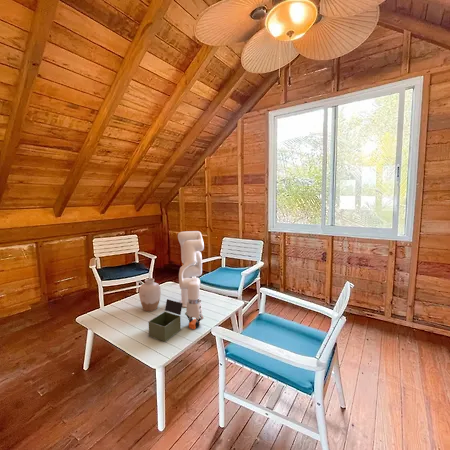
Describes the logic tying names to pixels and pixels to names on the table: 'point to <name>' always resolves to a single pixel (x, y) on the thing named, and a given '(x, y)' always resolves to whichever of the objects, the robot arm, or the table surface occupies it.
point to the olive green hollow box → (164, 326)
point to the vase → (150, 294)
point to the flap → (173, 307)
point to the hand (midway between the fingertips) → (194, 325)
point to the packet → (193, 324)
